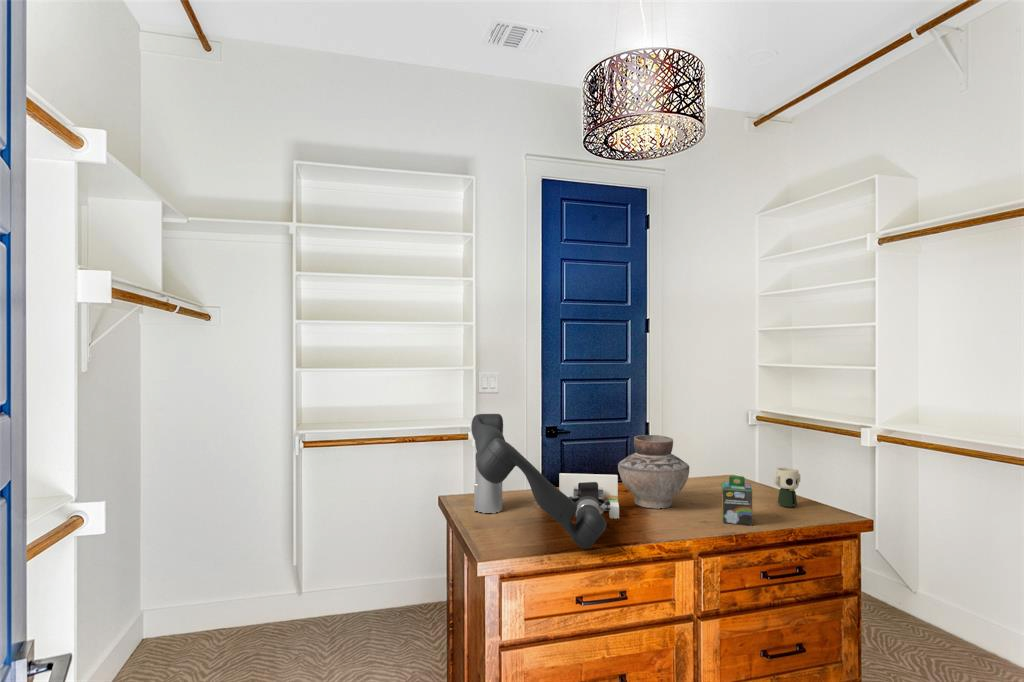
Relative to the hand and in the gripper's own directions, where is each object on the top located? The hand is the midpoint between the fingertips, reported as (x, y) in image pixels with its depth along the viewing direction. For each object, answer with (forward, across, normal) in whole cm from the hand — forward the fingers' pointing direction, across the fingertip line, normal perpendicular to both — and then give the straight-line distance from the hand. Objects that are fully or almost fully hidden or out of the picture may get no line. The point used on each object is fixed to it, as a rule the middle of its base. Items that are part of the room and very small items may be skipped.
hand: (588, 497), depth 196 cm
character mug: (+22, +70, -7) cm, 74 cm away
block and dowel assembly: (+6, +2, -6) cm, 9 cm away
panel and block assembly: (+5, 0, -7) cm, 9 cm away
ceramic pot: (+18, +23, -7) cm, 30 cm away
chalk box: (+2, +48, -7) cm, 49 cm away
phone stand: (-2, 0, -7) cm, 7 cm away
